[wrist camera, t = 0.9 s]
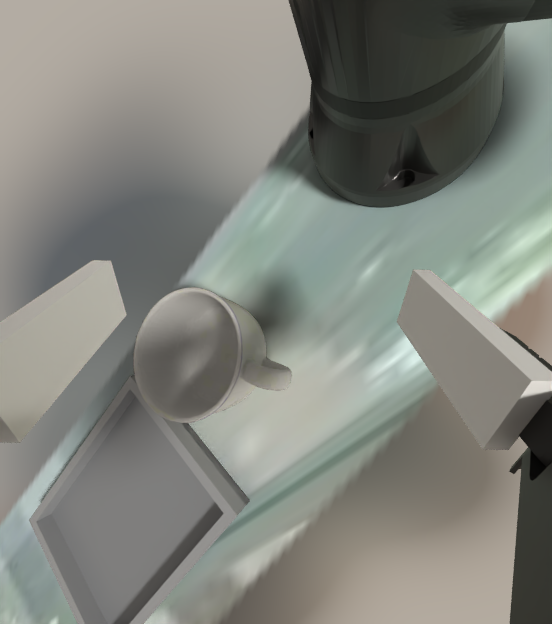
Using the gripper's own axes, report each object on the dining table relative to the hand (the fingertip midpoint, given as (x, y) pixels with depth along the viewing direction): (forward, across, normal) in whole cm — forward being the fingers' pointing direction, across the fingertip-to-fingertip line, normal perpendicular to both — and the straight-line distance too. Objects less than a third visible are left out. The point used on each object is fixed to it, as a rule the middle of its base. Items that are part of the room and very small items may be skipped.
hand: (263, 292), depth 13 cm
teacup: (+11, -2, -14) cm, 18 cm away
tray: (+4, -15, -30) cm, 34 cm away
